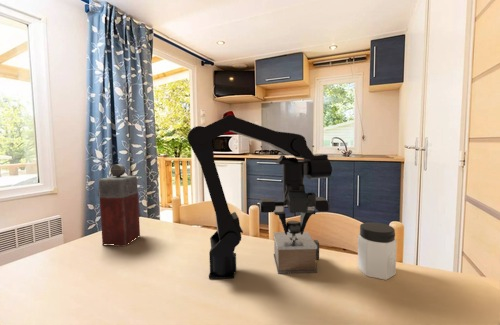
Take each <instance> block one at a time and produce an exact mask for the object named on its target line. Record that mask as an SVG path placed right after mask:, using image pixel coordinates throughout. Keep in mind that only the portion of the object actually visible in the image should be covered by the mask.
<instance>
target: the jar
mask: <svg viewBox="0 0 500 325" xmlns="http://www.w3.org/2000/svg"><path fill="white" fill-rule="evenodd" d="M395 237H396V229H395V228H394V227H392V226H391V225H388V224H386V223H382V222H368V221H367V222H363V223H361V224H360V225H359V234H357V268H358V269H359V270H360V271H361V272H362V273H363V274H364V275H365V276H366V277H369V278H375V279H380V280H384V281H387V280H388V279H390V278H392V277H393V276H395V275H396V272H397V267H396V266H397V239H396V238H395Z"/></svg>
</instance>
